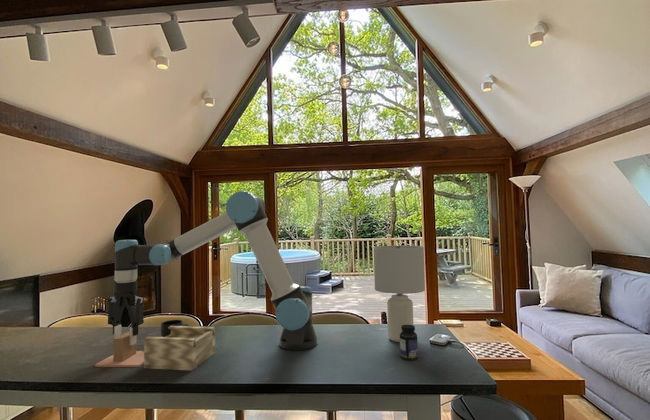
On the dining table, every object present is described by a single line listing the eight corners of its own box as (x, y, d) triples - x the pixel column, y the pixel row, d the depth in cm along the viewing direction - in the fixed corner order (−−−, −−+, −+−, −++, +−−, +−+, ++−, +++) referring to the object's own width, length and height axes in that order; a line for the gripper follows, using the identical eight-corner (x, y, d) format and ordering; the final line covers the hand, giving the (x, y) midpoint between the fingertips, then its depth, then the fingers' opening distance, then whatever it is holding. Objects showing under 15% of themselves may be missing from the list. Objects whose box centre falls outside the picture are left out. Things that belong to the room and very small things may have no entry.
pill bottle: (418, 355, 129) (417, 324, 129) (417, 361, 123) (416, 329, 124) (401, 353, 131) (400, 323, 131) (399, 359, 125) (398, 327, 126)
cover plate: (160, 354, 137) (160, 330, 137) (139, 368, 123) (139, 341, 124) (120, 353, 138) (120, 329, 138) (94, 367, 124) (95, 341, 125)
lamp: (376, 347, 138) (374, 246, 140) (375, 331, 158) (373, 244, 160) (430, 348, 136) (427, 246, 137) (422, 332, 156) (419, 243, 158)
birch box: (215, 353, 135) (214, 326, 135) (192, 370, 119) (192, 340, 120) (171, 351, 138) (171, 325, 138) (144, 368, 122) (144, 338, 123)
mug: (182, 350, 139) (182, 326, 139) (156, 348, 142) (156, 324, 142) (195, 343, 147) (195, 320, 147) (169, 342, 150) (169, 319, 150)
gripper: (155, 279, 136) (154, 341, 135) (111, 279, 139) (110, 339, 138) (141, 283, 128) (141, 348, 127) (96, 282, 131) (95, 346, 130)
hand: (125, 343), depth 133 cm, fingers open, 6 cm apart
